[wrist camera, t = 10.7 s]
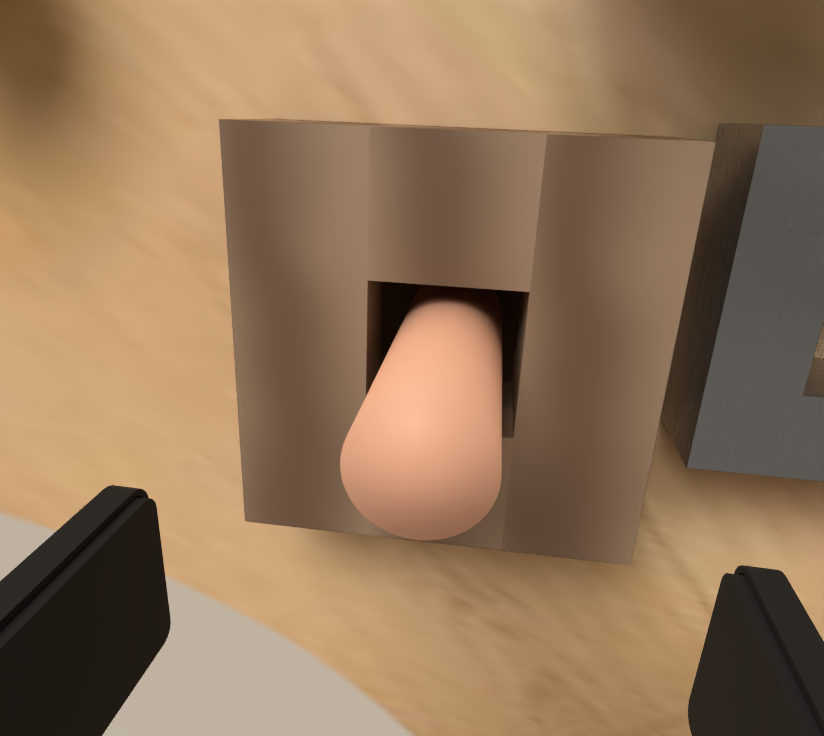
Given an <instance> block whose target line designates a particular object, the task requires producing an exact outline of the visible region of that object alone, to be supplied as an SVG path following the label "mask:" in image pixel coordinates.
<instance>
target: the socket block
mask: <svg viewBox="0 0 824 736" xmlns="http://www.w3.org/2000/svg"><path fill="white" fill-rule="evenodd" d="M219 127H220V142H221V157H222V173H223V188H224V204H225V219H226V234H227V250H228V265H229V281H230V296H231V312H232V327H233V342H234V358H235V373H236V389H237V404H238V419H239V435H240V450H241V466H242V481H243V497H244V512H245V521H247V522H256V523H265V524H273V525H282V526H291V527H300V528H308V529H317V530H326V531H335V532H343V533H352V534H361V535H370V536H378V537H387V538H396V539H405V540H413V541H422V542H431V543H440V544H449V545H457V546H466V547H475V548H484V549H492V550H501V551H510V552H519V553H527V554H536V555H545V556H554V557H562V558H571V559H580V560H589V561H597V562H606V563H615V564H624V565H631V560H632V555H633V550H634V545H635V540H636V535H637V530H638V525H639V520H640V515H641V510H642V505H643V500H644V495H645V490H646V485H647V480H648V475H649V470H650V465H651V460H652V455H653V451H654V446H655V441H656V436H657V431H658V426H659V421H660V416H661V411H662V406H663V401H664V396H665V391H666V386H667V381H668V376H669V371H670V366H671V361H672V356H673V351H674V346H675V341H676V336H677V332H678V327H679V322H680V317H681V312H682V307H683V302H684V297H685V292H686V287H687V282H688V277H689V272H690V267H691V262H692V257H693V252H694V247H695V242H696V237H697V232H698V227H699V222H700V217H701V212H702V208H703V203H704V198H705V193H706V188H707V183H708V178H709V173H710V168H711V163H712V158H713V153H714V148H715V143H716V142H709V141H701V140H692V139H684V138H675V137H660V136H638V135H617V134H595V133H573V132H551V131H529V130H507V129H485V128H463V127H441V126H419V125H397V124H375V123H353V122H331V121H309V120H287V119H219ZM392 282H396V283H410V284H424V285H438V286H452V287H466V288H480V289H494V290H508V291H521V296H520V306H519V315H518V325H517V334H516V344H515V353H514V363H513V372H512V381H502V475H501V485H500V490H499V493H498V496H497V499H496V501H495V503H494V505H493V506H492V508H491V509H490V511H489V512H488V513H487V515H486V516H485V517H484V518H483V519H482V520H481V521H480V522H478V523H477V524H476V525H475V526H473V527H472V528H470V529H468V530H467V531H465V532H463V533H460V534H458V535H456V536H452V537H449V538H445V539H439V540H414V539H408V538H404V537H400V536H397V535H394V534H392V533H389V532H387V531H385V530H383V529H381V528H379V527H378V526H376V525H375V524H373V523H372V522H370V521H369V520H368V519H367V518H366V517H365V516H363V515H362V514H361V512H360V511H359V510H358V509H357V508H356V507H355V505H354V504H353V503H352V501H351V500H350V498H349V496H348V494H347V492H346V490H345V487H344V484H343V481H342V477H341V471H340V457H341V451H342V447H343V444H344V441H345V439H346V436H347V434H348V432H349V430H350V428H351V426H352V424H353V422H354V420H355V418H356V416H357V414H358V412H359V410H360V408H361V406H362V404H363V402H364V400H365V398H366V396H367V394H368V392H369V390H370V388H371V386H372V383H373V381H374V379H375V377H376V375H377V373H378V371H379V369H380V367H381V365H382V363H383V361H384V359H385V357H386V355H387V353H388V351H389V349H390V327H391V293H392Z"/></svg>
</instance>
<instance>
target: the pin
mask: <svg viewBox="0 0 824 736" xmlns="http://www.w3.org/2000/svg"><path fill="white" fill-rule="evenodd" d="M340 471H341V477H342V481H343V484H344V487H345V490H346V492H347V494H348V496H349V498H350V500H351V501H352V503H353V504H354V505H355V507H356V508H357V509H358V510H359V511H360V512H361V514H362V515H363V516H365V517H366V518H367V519H368V520H369V521H370V522H372V523H373V524H375V525H376V526H378V527H379V528H381V529H383V530H385V531H387V532H389V533H392V534H394V535H397V536H400V537H404V538H408V539H414V540H439V539H445V538H449V537H452V536H456V535H458V534H460V533H463V532H465V531H467V530H468V529H470V528H472V527H473V526H475V525H476V524H477V523H478V522H480V521H481V520H482V519H483V518H484V517H485V516H486V515H487V513H488V512H489V511H490V509H491V508H492V506H493V505H494V503H495V501H496V499H497V496H498V493H499V490H500V485H501V475H502V309H501V305H500V302H499V299H498V297H497V295H496V294H495V292H494V291H493V290H492V289H480V288H466V287H452V286H438V285H423V286H422V287H421V288H420V290H419V291H418V293H417V294H416V296H415V298H414V300H413V302H412V304H411V306H410V308H409V310H408V312H407V314H406V316H405V318H404V320H403V322H402V324H401V326H400V328H399V330H398V333H397V335H396V337H395V339H394V341H393V343H392V345H391V347H390V349H389V351H388V353H387V355H386V357H385V359H384V361H383V363H382V365H381V367H380V369H379V371H378V373H377V375H376V377H375V379H374V381H373V383H372V386H371V388H370V390H369V392H368V394H367V396H366V398H365V400H364V402H363V404H362V406H361V408H360V410H359V412H358V414H357V416H356V418H355V420H354V422H353V424H352V426H351V428H350V430H349V432H348V434H347V436H346V439H345V441H344V444H343V447H342V451H341V457H340Z"/></svg>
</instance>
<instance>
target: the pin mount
mask: <svg viewBox="0 0 824 736" xmlns="http://www.w3.org/2000/svg"><path fill="white" fill-rule="evenodd" d="M823 323H824V127H809V126H785V125H761V124H726V123H720V125H719V130H718V135H717V140H716V145H715V150H714V155H713V159H712V164H711V169H710V174H709V179H708V184H707V189H706V194H705V199H704V204H703V209H702V214H701V219H700V224H699V229H698V234H697V239H696V244H695V249H694V254H693V259H692V264H691V268H690V273H689V278H688V283H687V288H686V293H685V298H684V303H683V308H682V313H681V318H680V323H679V328H678V333H677V338H676V343H675V348H674V353H673V358H672V363H671V368H670V373H669V377H668V382H667V387H666V392H665V397H664V402H663V407H662V412H661V417H660V418H661V420H662V422H663V424H664V425H665V427H666V429H667V431H668V433H669V435H670V437H671V439H672V441H673V443H674V444H675V446H676V448H677V450H678V452H679V454H680V456H681V458H682V460H683V462H684V464H685V465H686V467H687V468H692V469H702V470H712V471H722V472H733V473H743V474H753V475H763V476H774V477H784V478H794V479H804V480H814V481H824V359H821V358H813V357H814V354H815V350H816V347H817V343H818V340H819V336H820V333H821V329H822V326H823Z"/></svg>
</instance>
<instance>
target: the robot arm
mask: <svg viewBox="0 0 824 736" xmlns="http://www.w3.org/2000/svg"><path fill="white" fill-rule="evenodd" d="M169 630H170V612H169V604H168V597H167V588H166V580H165V572H164V564H163V556H162V547H161V539H160V531H159V523H158V515H157V507H156V503H155V502H154V500H152V499H149V498H148V495H147V493H146V491H144V490H142V489H137V488H130V487H122V486H114V485H112V486H108V487H106V488H105V489H103V490H102V491H101V492H100V493H99V494H98V495H97V496H96V497H94V498H93V499H92V500H91V501H90V502H89V503H88V504H87V505H85V506H84V507H83V508H82V509H81V510H80V511H79V512H78V513H76V514H75V515H74V516H73V517H72V518H71V519H70V520H69V521H67V522H66V523H65V524H64V525H63V526H62V527H61V528H60V529H59V530H57V531H56V532H55V533H54V534H53V535H52V536H51V537H50V538H48V539H47V540H46V541H45V542H44V543H43V544H42V545H41V546H39V547H38V548H37V549H36V550H35V551H34V552H33V553H32V554H30V555H29V556H28V557H27V558H26V559H25V560H24V561H23V562H21V563H20V564H19V565H18V566H17V567H16V568H15V569H14V570H13V571H11V572H10V573H9V574H8V575H7V576H6V577H5V578H3V579H2V580H1V581H0V736H102V735H103V733H104V732H105V730H106V729H107V727H108V726H109V724H110V723H111V721H112V720H113V718H114V717H115V715H116V714H117V713H118V711H119V710H120V708H121V706H122V705H123V703H124V702H125V701H126V699H127V698H128V696H129V695H130V693H131V692H132V690H133V689H134V687H135V686H136V684H137V683H138V681H139V680H140V679H141V677H142V676H143V674H144V673H145V671H146V670H147V668H148V667H149V665H150V664H151V662H152V661H153V659H154V658H155V656H156V655H157V653H158V652H159V651H160V649H161V647H162V646H163V645H164V643H165V641H166V639H167V637H168V634H169ZM688 719H689V726H690V730H691V734H692V736H824V641H823V640H822V638H821V636H820V635H819V633H818V631H817V629H816V628H815V626H814V624H813V622H812V621H811V619H810V617H809V616H808V614H807V612H806V610H805V609H804V607H803V605H802V603H801V602H800V600H799V598H798V597H797V595H796V593H795V591H794V590H793V588H792V586H791V584H790V583H789V581H788V579H787V577H786V576H785V575H784V573H783V572H781V571H779V570H774V569H766V568H758V567H750V566H742V565H741V566H738V568H737V569H736V570H735V573H734V574H729V573H726V574H724V576H723V577H722V580H721V583H720V587H719V591H718V595H717V598H716V602H715V606H714V610H713V613H712V617H711V621H710V624H709V628H708V632H707V636H706V639H705V643H704V647H703V651H702V654H701V658H700V662H699V666H698V669H697V673H696V677H695V680H694V684H693V688H692V692H691V695H690V699H689V705H688Z"/></svg>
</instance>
